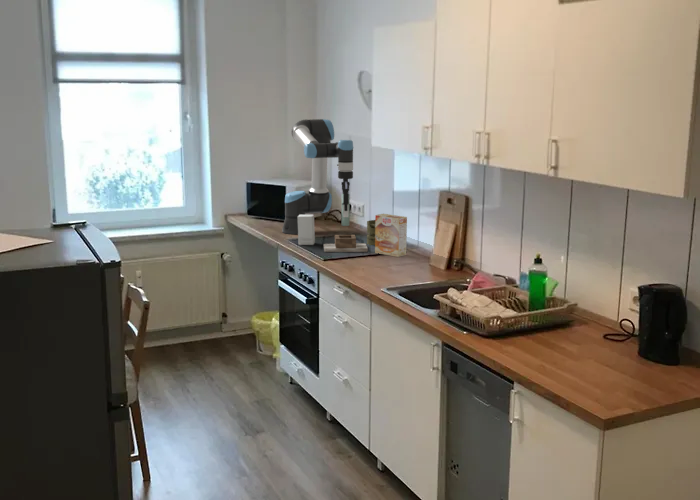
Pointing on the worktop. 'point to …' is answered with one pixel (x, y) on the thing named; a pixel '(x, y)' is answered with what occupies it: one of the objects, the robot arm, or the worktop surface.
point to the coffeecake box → (390, 234)
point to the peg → (345, 219)
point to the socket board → (358, 248)
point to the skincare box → (306, 230)
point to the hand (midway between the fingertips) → (345, 216)
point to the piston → (371, 232)
